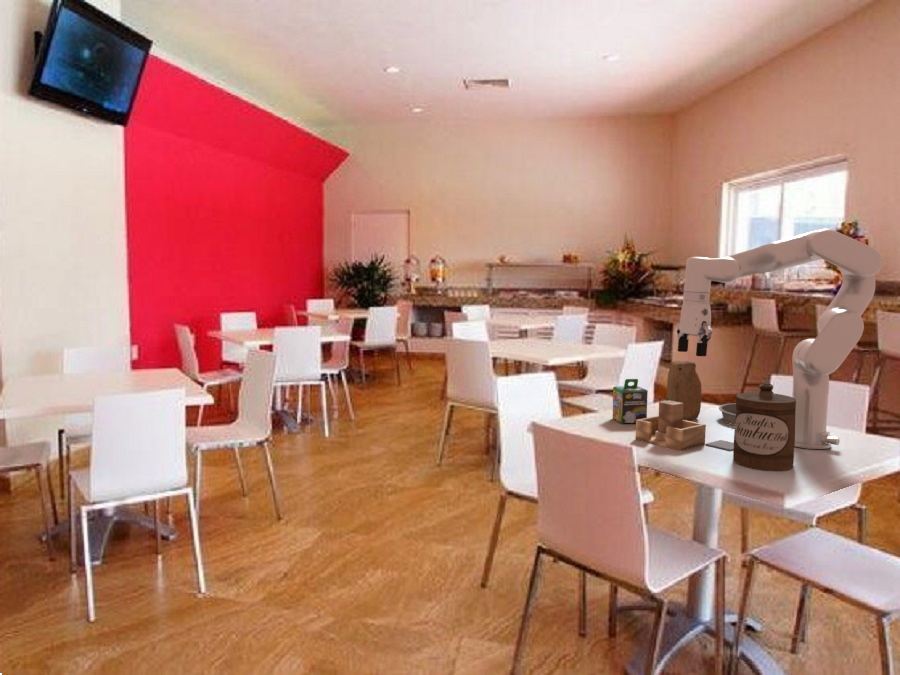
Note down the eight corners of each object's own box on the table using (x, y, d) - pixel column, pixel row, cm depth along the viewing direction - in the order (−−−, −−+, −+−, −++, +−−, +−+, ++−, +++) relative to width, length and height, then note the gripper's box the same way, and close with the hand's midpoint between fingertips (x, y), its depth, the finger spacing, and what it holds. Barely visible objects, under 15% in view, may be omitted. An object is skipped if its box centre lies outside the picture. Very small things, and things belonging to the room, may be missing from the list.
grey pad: (745, 446, 201) (745, 445, 201) (730, 450, 196) (730, 449, 196) (720, 441, 207) (720, 439, 207) (705, 445, 202) (705, 443, 202)
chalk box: (636, 417, 239) (638, 376, 237) (647, 423, 230) (649, 380, 228) (611, 418, 238) (612, 376, 236) (621, 424, 229) (622, 380, 227)
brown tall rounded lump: (672, 420, 234) (674, 363, 232) (663, 416, 242) (665, 360, 240) (702, 420, 235) (705, 363, 233) (693, 415, 243) (695, 360, 241)
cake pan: (703, 420, 237) (703, 407, 237) (746, 412, 250) (746, 400, 250) (768, 434, 217) (769, 421, 216) (811, 425, 230) (812, 412, 229)
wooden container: (726, 464, 183) (730, 383, 180) (741, 452, 194) (745, 376, 192) (786, 474, 174) (791, 389, 171) (798, 462, 185) (803, 382, 183)
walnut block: (682, 432, 205) (683, 403, 204) (672, 434, 202) (673, 404, 201) (668, 429, 209) (669, 400, 208) (657, 431, 206) (659, 402, 205)
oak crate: (704, 444, 203) (705, 424, 202) (680, 450, 196) (681, 430, 195) (659, 433, 216) (660, 415, 215) (635, 439, 209) (636, 419, 208)
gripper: (724, 300, 200) (719, 358, 202) (690, 296, 216) (686, 350, 218) (702, 299, 198) (697, 357, 200) (669, 296, 215) (665, 349, 217)
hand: (691, 353), depth 209 cm, fingers open, 9 cm apart
